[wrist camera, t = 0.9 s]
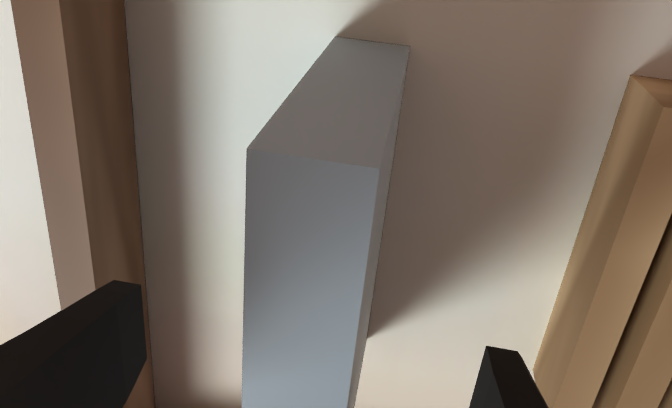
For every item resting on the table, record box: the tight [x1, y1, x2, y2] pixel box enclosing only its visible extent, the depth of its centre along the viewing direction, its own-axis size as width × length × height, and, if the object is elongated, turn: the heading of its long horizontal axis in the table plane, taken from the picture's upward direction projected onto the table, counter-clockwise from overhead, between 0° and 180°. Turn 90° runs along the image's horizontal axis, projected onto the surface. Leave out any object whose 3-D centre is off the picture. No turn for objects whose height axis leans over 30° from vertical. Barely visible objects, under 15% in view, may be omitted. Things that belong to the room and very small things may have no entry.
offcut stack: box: [533, 75, 672, 408], centre depth 16 cm, size 4×10×4 cm, turn 175°
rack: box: [11, 0, 155, 408], centre depth 16 cm, size 22×24×3 cm
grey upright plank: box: [242, 37, 410, 408], centre depth 15 cm, size 2×10×8 cm, turn 175°
